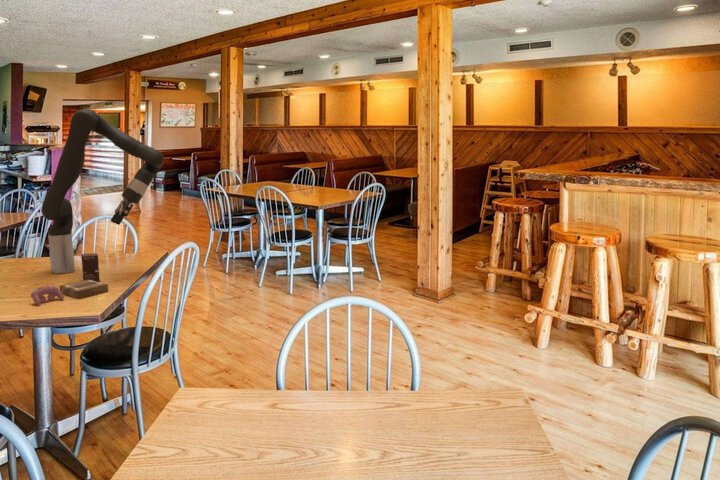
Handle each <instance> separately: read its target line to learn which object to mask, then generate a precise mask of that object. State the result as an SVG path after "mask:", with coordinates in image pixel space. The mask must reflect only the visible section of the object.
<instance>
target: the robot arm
mask: <svg viewBox="0 0 720 480" xmlns="http://www.w3.org/2000/svg"><path fill="white" fill-rule="evenodd" d="M69 124H70V125H69V130H68V135H67V138H66V141H65V143H64V146H63V149H62V151H61V155H60V157H59V161H58V163H57V166H56V170H55V173H54V176H53V178H52V181H51V185H50V187H49V189H48V192H47V194H46V196H45V198H44V199H43V202H42V206H41V213H42V215H43V217H44V218H45V219H46V220H49V221H53V222H52V224H51V225H50V226H49V227H48V228H47V236H48V237H47V238H48V246H49V259H50V260H49V261H50V269H51V270H50V272H51V273H52V274H56V275H57V274H58V275H59V274H67V273H73V272H75V271H76V269H75V267H76V266H75V255H74V246H73V245H74V244H73V243H74V242H73V236H72V234H73V233H72V229H73V227H74V215H73V214H74V212H73V206H72V203H71V202H70V200H69V199H68V198H66V195H67V193H68V192H69V190H70V189H71V188H72V186H74V185H75V183H76V182H77V180H78V179H79V177H80V176H81V173H82V170H83V167H84V163H85V158H86V157H85V154H86V153H85V152H86V151H85V149H86V143H87V141H88V138H89V137H90V134H91V132H93V133H96V134H98V135H101V136H103V137H105V138H106V139H108V141H110V142H111V143H112V144H114V145H115V146H116V147H118V148H119V150H122V151H123V152H125V153H126V154H128V155H130V156H132V157H134V158H137V159H140V160H142V161H144V163H143V164H142V166H141V168H139V169H138V170H137V172H136V173H135V175H134V176H133V178H132V179H131V180H130V181H129V182H128V184H127V186H126V187H125V189H124V190H123V192H122V193H121V197H123V198H124V200H121V201H120V202H119V204H118V205H117V207H116V209H115V210H114V214H113V216H112V217H111V218H110V222H111V223H113V224H116V225H118V226H120V224H121V223H122V221H123V220H124V218H126V217H127V216H128V215H129V213H130V212H131V210H132V208H133V207H134V205H138V204H140V202H141V200H142V198H143V196H144V195H145V193H146V192H147V189H148V187H149V186H150V185H151V183H152V181H153V180H154V178H155V176H156V175H157V174H158V173H159V171H160V170H161V168H162V167H163V166H164V163H165V159H164V154H163V153H162V152H161V151H159V150H158V149H156V148H154V147H152V146H149V145H147V144H145V143H143V142H141V141H140V140H138V139H136V138H135V137H133V136H130V135H129V134H128V133H125V132H124V131H122V130H121V129H119V128H117V127H116V126H114V124H113V125H112V123H110V122H109V121H107V120H106V119H105V118H103V117H102V116H101V115H100V114H99V113H97V112H96V111H94V110H93V109H90V108H84V109H83V108H82V109H80V110H77V111H75V112H74V113H73V114H72V116H71V120H70V123H69Z"/></svg>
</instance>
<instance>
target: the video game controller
mask: <svg viewBox="0 0 720 480" xmlns="http://www.w3.org/2000/svg"><path fill="white" fill-rule="evenodd" d="M45 295H47V298H46V296H45ZM30 297H31V299H32V300H33V302H34V304H35V305H36V306H37V307H38V306H39V307H40V306H41V303H45V302H46V301H47V300H48V301H54V300H55V298H56V297H57V298H58V299H59V300H60V301H64V298H65V297H64V294H62V293H61V291H60V288H59V287H57V286H55V285H45V286H41V287H40V286H39V287H38V288H36V289H34V290H33V291H31V293H30Z"/></svg>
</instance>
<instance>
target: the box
mask: <svg viewBox="0 0 720 480" xmlns="http://www.w3.org/2000/svg"><path fill="white" fill-rule="evenodd" d="M80 256H81V267H82V268H81V270H82V271H81V272H82V281H84V280H88V279H90V280H93V281H97V282H101V281H100V280H101V279H100V268H99V265H100V264H99V254H98V253H97V252H95V253H84V254H81V255H80Z"/></svg>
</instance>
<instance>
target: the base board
mask: <svg viewBox="0 0 720 480" xmlns="http://www.w3.org/2000/svg"><path fill="white" fill-rule="evenodd" d="M59 290H60V291H61V293H62V294H63V296H64V295H65V296H68V297H71V298H75V299H78V300H80V299H84V298H89V297H92V296H95V295H96V296H97V295H102V294H105V293H109V285H108V284H107V283H104V282H101V281H100V282H97V281H93V280H90V279H88V280H84V281H83V280H79V281H75V282H70V283H67V284H62V285H59Z"/></svg>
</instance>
